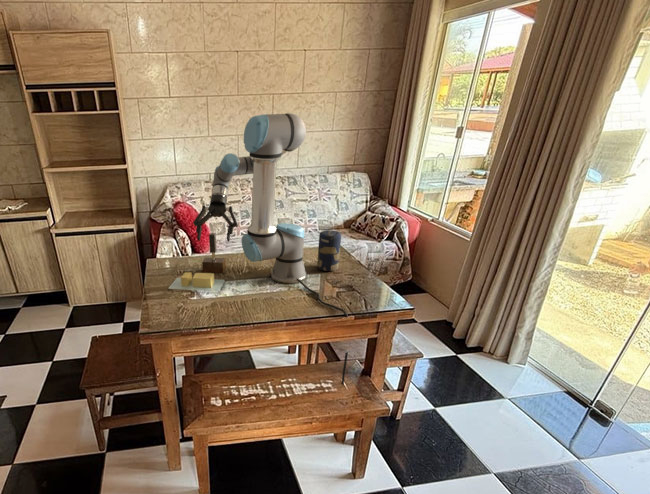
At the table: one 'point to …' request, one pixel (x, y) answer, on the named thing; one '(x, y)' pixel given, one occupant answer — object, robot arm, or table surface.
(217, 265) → the knife block
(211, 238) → the knife
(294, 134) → the robot arm
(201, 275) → the butter block
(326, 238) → the canister
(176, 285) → the butter dish
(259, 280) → the table surface
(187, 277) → the butter pat
